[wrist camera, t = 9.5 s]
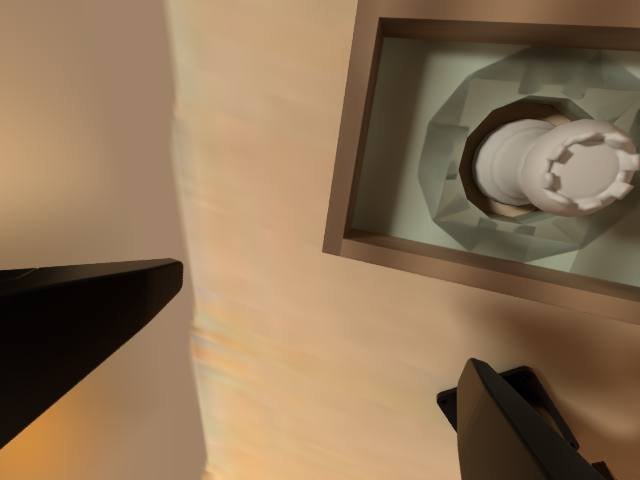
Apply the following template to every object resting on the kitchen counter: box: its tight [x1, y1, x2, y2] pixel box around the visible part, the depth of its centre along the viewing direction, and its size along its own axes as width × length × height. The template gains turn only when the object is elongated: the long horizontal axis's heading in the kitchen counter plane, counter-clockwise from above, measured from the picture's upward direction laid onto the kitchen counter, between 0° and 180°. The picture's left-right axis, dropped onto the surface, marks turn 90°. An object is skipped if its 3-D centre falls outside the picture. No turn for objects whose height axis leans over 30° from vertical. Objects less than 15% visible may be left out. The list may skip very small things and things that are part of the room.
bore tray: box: [322, 0, 640, 325], centre depth 15 cm, size 18×12×4 cm, turn 82°
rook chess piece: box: [471, 119, 640, 217], centre depth 13 cm, size 4×4×8 cm
